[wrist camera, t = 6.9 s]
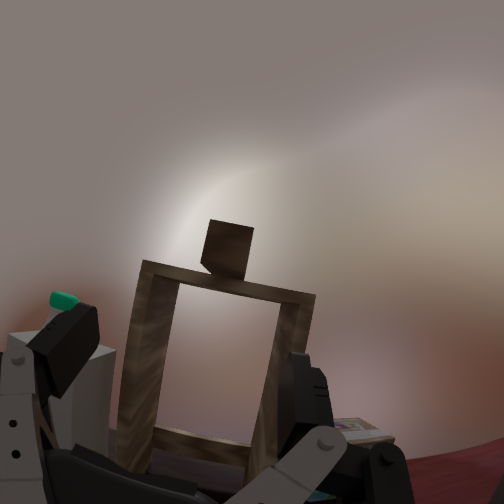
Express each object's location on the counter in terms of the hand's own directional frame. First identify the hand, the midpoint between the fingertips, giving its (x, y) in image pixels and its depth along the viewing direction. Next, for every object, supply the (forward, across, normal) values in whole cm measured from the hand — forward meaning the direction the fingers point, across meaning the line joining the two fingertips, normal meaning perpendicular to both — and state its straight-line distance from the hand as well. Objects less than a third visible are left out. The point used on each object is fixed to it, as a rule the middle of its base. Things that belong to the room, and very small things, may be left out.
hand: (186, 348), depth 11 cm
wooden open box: (+8, 0, -36) cm, 37 cm away
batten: (+20, 0, -6) cm, 21 cm away
